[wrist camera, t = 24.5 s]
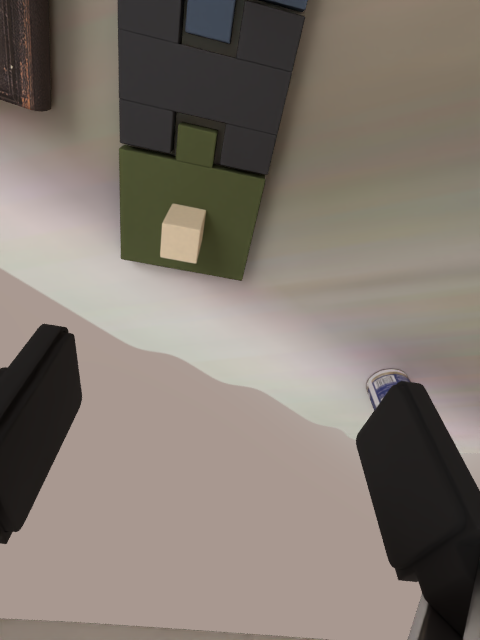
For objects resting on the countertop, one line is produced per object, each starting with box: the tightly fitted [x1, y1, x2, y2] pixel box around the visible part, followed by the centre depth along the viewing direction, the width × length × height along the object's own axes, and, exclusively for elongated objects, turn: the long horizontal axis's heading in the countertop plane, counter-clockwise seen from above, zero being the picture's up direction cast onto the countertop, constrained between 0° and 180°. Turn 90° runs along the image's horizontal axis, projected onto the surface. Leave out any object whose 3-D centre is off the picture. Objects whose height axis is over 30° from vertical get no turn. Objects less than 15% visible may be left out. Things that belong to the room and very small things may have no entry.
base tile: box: [118, 0, 305, 175], centre depth 25 cm, size 12×10×2 cm
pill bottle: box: [367, 369, 410, 410], centre depth 41 cm, size 5×5×10 cm
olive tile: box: [119, 122, 265, 281], centre depth 29 cm, size 12×13×6 cm
